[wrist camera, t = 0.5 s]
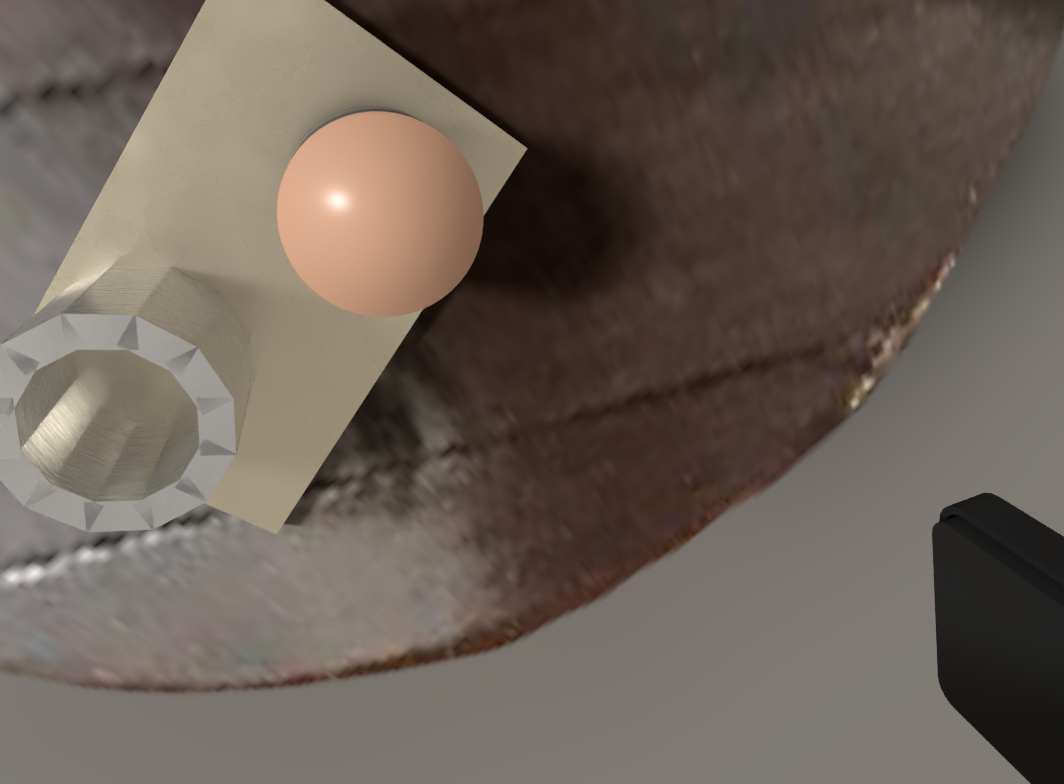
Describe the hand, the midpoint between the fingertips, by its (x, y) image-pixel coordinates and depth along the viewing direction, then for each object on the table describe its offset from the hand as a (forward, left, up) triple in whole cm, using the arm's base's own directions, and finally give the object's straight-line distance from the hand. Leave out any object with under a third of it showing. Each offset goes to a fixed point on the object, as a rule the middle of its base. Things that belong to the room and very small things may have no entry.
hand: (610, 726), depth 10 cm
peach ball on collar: (-2, -3, -28) cm, 28 cm away
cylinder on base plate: (+4, -5, -29) cm, 29 cm away
